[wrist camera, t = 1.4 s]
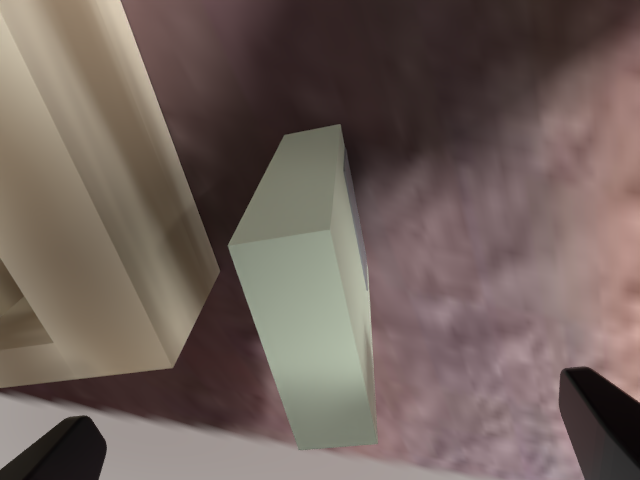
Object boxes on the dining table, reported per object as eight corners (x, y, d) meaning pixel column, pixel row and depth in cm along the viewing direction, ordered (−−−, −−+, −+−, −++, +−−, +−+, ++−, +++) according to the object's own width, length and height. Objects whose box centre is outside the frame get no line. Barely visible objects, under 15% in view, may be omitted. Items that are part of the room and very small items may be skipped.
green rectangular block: (341, 123, 15) (332, 229, 8) (369, 269, 18) (380, 443, 11) (282, 135, 16) (225, 245, 8) (318, 277, 18) (297, 450, 11)
